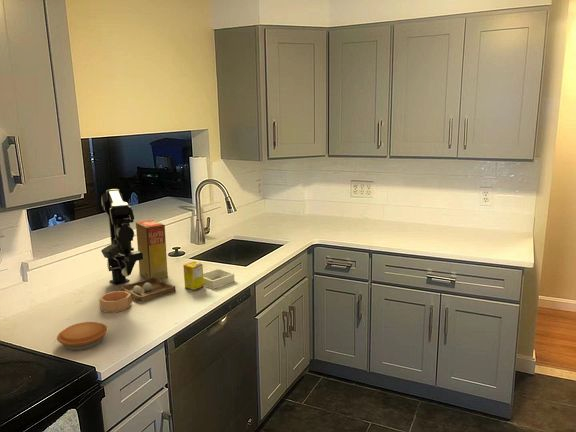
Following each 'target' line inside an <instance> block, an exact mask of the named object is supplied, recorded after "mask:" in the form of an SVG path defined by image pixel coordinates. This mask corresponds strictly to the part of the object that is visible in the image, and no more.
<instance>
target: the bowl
mask: <svg viewBox="0 0 576 432" xmlns="http://www.w3.org/2000/svg"><path fill="white" fill-rule="evenodd" d="M98 302H99V308H100V309H101V311H102V312H105V313H119V312H123V311H125V310H128V309H129V308H131V305H132V303H133V299H132V298H131V294H130V293H128V292H126V291H120V290H114V291H110V292H107V293H103V294H101V296H100V297H99V299H98Z"/></svg>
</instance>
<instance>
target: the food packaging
mask: <svg viewBox="0 0 576 432" xmlns="http://www.w3.org/2000/svg"><path fill="white" fill-rule="evenodd" d="M135 230H136V240H137V242H136V243H137V251H139V252H141V253H143V255H144V259H142V260H138V269H139V275H140V276H142V277H143V278H145V280H146V279H149V278H153V277H154V278H157V279H159V280H161V279H165V278H168V277H169V274H168V262H167V259H168V257H167V241H166V239H167V238H166V225H165V224H164V223H161V222H159V221H156V220H154V219H151V220H150V219H149V220H145V221H137V222H135Z"/></svg>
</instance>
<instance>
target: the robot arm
mask: <svg viewBox="0 0 576 432" xmlns="http://www.w3.org/2000/svg"><path fill="white" fill-rule="evenodd" d="M100 201H101V207H103V211H105V213H106V214H107V216H108V225H109V234H110V244H109V245H107V246H105V247H104V248H102V249H101V253H102V256H103V257H104V259H107V264H106V265H107V270H108V272H111V280H109V282H110V283H111V284H114V285H115V286H117V285H120V284H124V283H128V282H130V279H128V278H127V276H124V275H123V274H122V269H123V268H125V267H126V271H127V275H129V276H130V275H132V271H133V269H134V267H135V265H136V263H137V262H139V260H142V259H144V255H143V253H141V252H139V251H138V250H135V247H132V246H133V245H132V241H134V237H135V232H134V229H133V228H132V227H131V225H130V224H132V223H134V220H135V215H134V210H133V208H132V206H130V205H129V203H128V202H126V201H124V198H123V193H121V191H120V189H118V188H111V189H107V190H106V191H105V192H104V193H103V194H102V195H101V200H100Z"/></svg>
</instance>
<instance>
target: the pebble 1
mask: <svg viewBox="0 0 576 432" xmlns="http://www.w3.org/2000/svg"><path fill="white" fill-rule="evenodd" d="M122 274H123V275H124V276H126V277H129V276H130V275H127V271H126V267H125V268H123V269H122Z"/></svg>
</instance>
